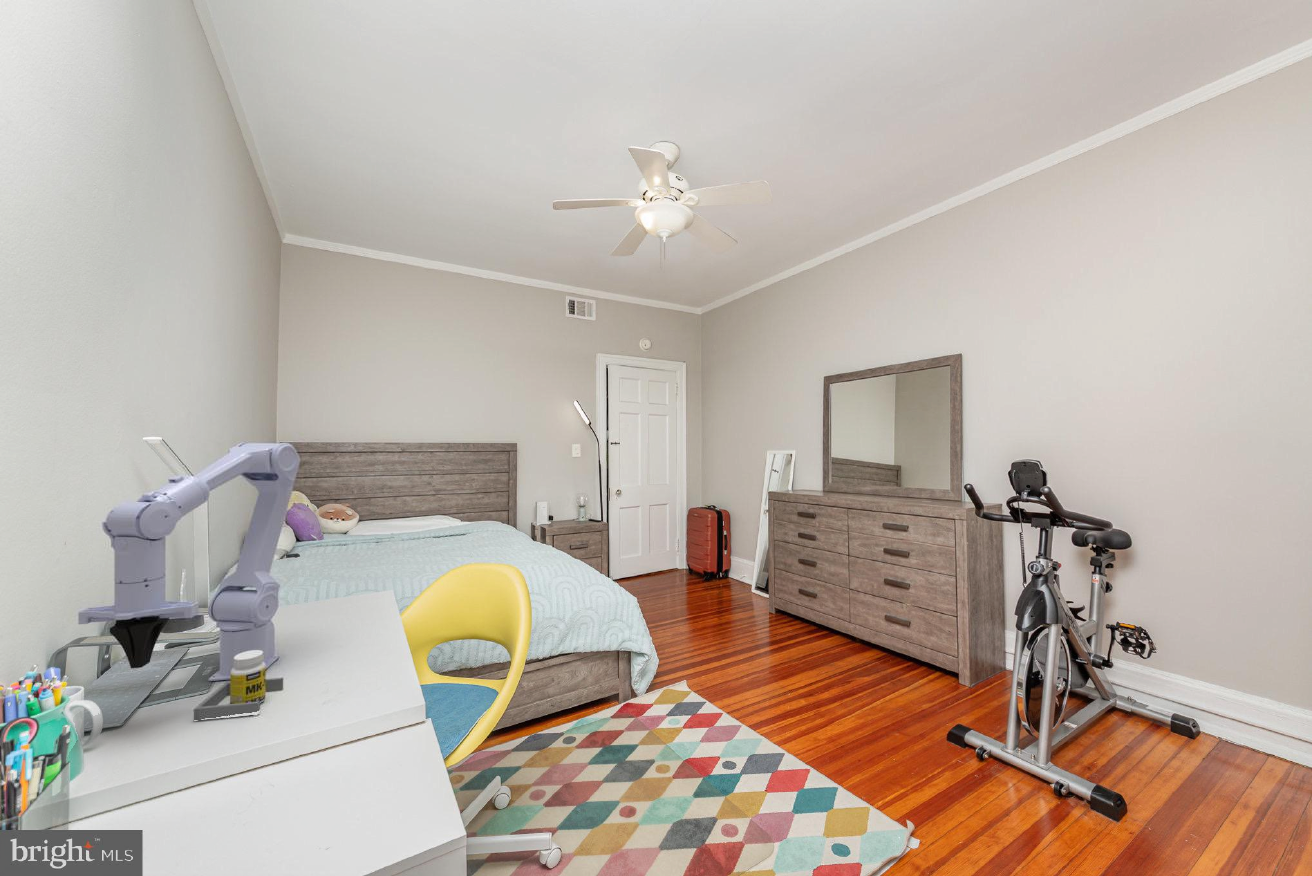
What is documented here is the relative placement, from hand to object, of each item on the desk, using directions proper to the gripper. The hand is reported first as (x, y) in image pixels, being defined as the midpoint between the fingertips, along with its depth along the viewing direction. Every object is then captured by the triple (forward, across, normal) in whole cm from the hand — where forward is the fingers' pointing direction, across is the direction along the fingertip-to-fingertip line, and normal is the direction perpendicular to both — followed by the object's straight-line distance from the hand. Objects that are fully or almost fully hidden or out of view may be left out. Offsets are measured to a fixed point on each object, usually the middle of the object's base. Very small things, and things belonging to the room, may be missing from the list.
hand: (140, 665), depth 83 cm
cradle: (+9, +12, +4) cm, 16 cm away
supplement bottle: (+10, +13, +4) cm, 17 cm away
